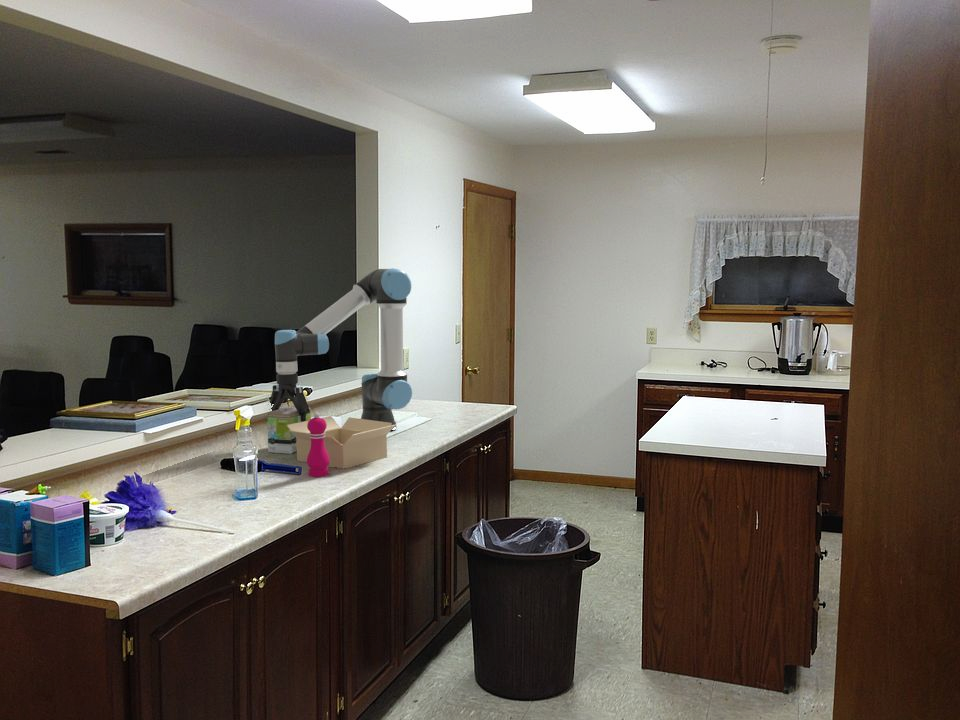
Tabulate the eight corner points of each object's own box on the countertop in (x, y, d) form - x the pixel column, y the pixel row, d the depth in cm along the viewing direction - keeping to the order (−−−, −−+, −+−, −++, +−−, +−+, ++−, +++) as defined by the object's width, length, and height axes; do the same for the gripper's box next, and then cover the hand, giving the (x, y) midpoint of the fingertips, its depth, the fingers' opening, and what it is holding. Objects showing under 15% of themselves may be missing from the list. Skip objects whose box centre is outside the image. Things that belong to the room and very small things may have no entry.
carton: (339, 446, 310) (338, 414, 309) (404, 456, 291) (403, 422, 290) (279, 461, 287) (277, 426, 286) (345, 473, 268) (344, 436, 267)
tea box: (292, 454, 298) (291, 413, 296) (267, 452, 301) (265, 412, 299) (312, 445, 312) (311, 406, 310) (288, 444, 315) (286, 405, 313)
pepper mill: (322, 478, 263) (320, 415, 260) (302, 476, 265) (300, 414, 263) (334, 472, 269) (332, 411, 267) (315, 471, 272) (312, 410, 270)
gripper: (256, 371, 308) (259, 429, 310) (302, 376, 293) (304, 436, 295) (272, 369, 314) (275, 425, 316) (318, 373, 299) (320, 432, 301)
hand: (289, 431), depth 306 cm, fingers open, 13 cm apart
